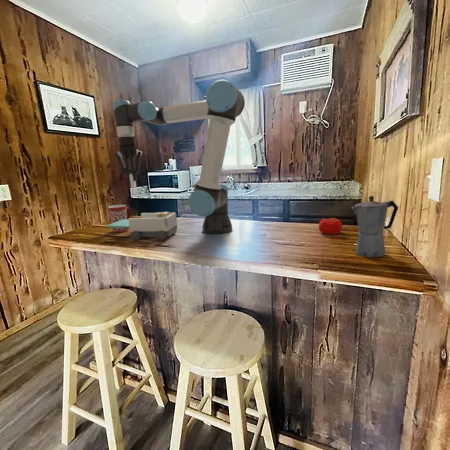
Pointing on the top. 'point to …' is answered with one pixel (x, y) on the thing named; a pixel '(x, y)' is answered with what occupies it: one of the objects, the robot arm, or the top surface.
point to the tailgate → (120, 224)
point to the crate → (161, 214)
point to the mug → (119, 215)
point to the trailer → (152, 226)
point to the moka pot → (372, 226)
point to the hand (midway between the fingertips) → (133, 187)
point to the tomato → (330, 226)
